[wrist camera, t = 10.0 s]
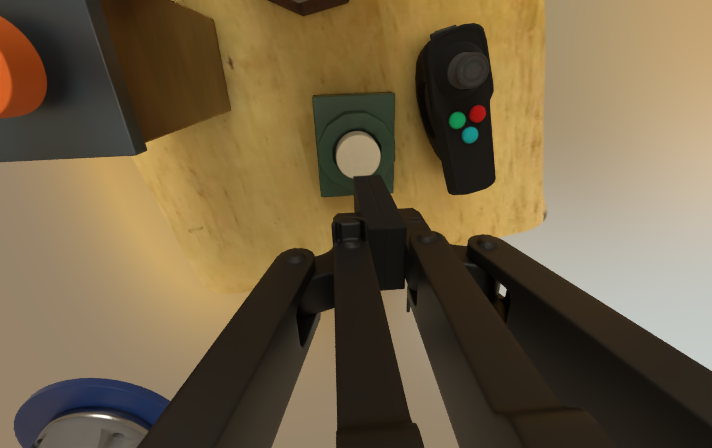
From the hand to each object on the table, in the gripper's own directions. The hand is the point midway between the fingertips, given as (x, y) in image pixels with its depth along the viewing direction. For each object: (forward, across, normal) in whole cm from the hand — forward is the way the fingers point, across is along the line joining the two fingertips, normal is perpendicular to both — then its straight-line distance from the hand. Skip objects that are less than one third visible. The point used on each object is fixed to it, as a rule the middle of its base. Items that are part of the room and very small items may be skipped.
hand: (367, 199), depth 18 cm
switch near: (+15, +14, -7) cm, 21 cm away
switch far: (+15, 0, 0) cm, 15 cm away
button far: (+11, 0, 0) cm, 11 cm away
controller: (+15, -8, -3) cm, 17 cm away
